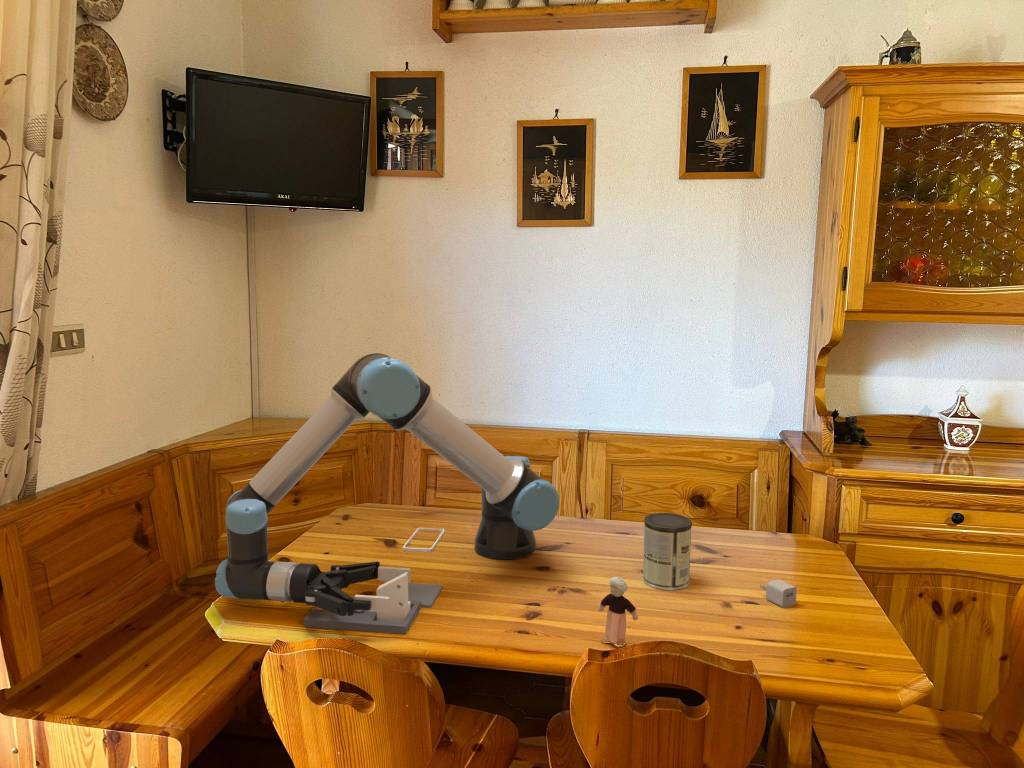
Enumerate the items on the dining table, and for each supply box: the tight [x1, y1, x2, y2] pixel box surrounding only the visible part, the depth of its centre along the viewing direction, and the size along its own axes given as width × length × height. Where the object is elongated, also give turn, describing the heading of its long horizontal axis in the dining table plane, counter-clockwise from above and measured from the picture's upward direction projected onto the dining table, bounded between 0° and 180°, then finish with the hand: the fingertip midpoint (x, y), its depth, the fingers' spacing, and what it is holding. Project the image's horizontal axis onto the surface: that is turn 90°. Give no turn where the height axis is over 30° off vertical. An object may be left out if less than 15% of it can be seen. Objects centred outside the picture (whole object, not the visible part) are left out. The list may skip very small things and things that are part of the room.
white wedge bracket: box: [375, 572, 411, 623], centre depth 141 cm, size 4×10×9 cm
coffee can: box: [642, 512, 693, 591], centre depth 160 cm, size 10×10×14 cm
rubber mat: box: [408, 582, 444, 609], centre depth 152 cm, size 12×10×1 cm
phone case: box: [402, 527, 446, 553], centre depth 184 cm, size 7×1×15 cm
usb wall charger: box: [759, 578, 798, 609], centre depth 151 cm, size 4×7×4 cm, turn 28°
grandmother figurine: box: [597, 576, 639, 648], centre depth 132 cm, size 8×4×13 cm, turn 69°
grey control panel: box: [303, 596, 422, 635], centre depth 142 cm, size 20×11×2 cm, turn 82°
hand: (400, 589), depth 140 cm, fingers open, 13 cm apart
